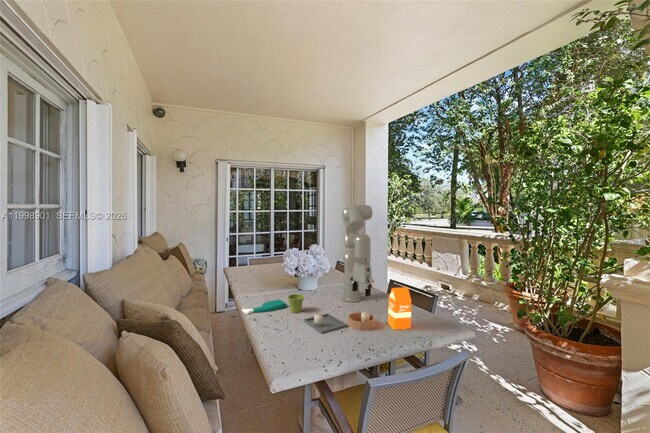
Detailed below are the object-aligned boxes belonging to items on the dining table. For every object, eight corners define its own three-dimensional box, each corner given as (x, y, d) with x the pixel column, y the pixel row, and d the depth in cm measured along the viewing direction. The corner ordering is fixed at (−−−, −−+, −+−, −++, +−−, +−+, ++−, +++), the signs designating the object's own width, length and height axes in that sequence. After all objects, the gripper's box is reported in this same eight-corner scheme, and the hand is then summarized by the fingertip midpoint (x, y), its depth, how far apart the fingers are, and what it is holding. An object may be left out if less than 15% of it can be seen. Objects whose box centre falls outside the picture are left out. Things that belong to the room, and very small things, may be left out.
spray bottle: (287, 308, 173) (247, 317, 159) (279, 303, 182) (240, 311, 168) (287, 303, 173) (247, 312, 159) (279, 298, 182) (240, 306, 168)
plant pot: (301, 315, 162) (301, 299, 161) (285, 313, 164) (285, 298, 163) (305, 309, 171) (306, 294, 170) (290, 308, 173) (290, 293, 172)
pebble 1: (319, 322, 150) (320, 313, 150) (324, 325, 147) (324, 316, 146) (312, 324, 148) (312, 315, 148) (317, 327, 144) (317, 317, 144)
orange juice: (387, 323, 151) (388, 285, 150) (403, 322, 153) (404, 285, 152) (394, 330, 144) (395, 290, 143) (410, 328, 146) (411, 289, 145)
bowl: (362, 318, 158) (362, 310, 158) (380, 327, 147) (380, 318, 147) (342, 323, 151) (342, 315, 150) (359, 333, 139) (359, 324, 139)
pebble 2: (365, 320, 153) (365, 311, 153) (371, 323, 150) (371, 313, 150) (359, 322, 151) (359, 312, 151) (365, 325, 147) (365, 315, 147)
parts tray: (327, 315, 161) (327, 313, 161) (347, 327, 146) (347, 324, 146) (303, 322, 152) (303, 319, 152) (321, 334, 138) (321, 331, 138)
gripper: (379, 262, 144) (378, 296, 144) (356, 256, 158) (355, 288, 158) (368, 264, 139) (367, 299, 140) (345, 258, 153) (344, 290, 154)
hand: (361, 293), depth 149 cm, fingers open, 9 cm apart
